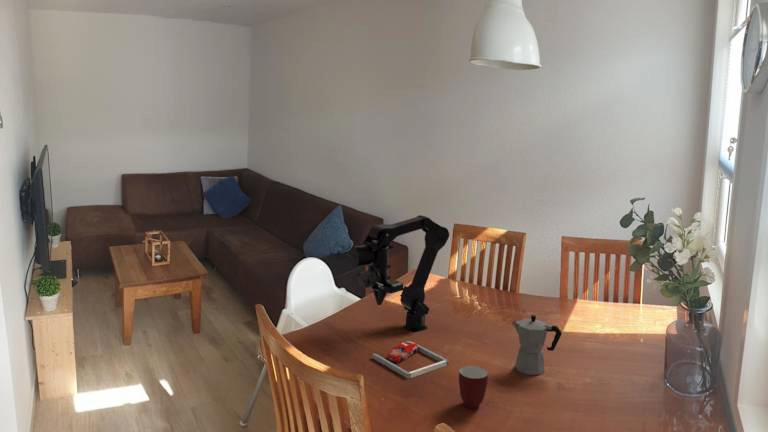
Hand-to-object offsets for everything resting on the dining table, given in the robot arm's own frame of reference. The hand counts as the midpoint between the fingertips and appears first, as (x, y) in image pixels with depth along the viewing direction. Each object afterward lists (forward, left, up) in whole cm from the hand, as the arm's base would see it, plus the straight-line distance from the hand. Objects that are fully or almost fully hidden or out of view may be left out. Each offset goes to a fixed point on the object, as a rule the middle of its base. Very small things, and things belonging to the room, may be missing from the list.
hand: (379, 304), depth 221 cm
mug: (+7, +53, -12) cm, 55 cm away
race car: (+3, +17, -12) cm, 21 cm away
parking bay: (+4, +22, -12) cm, 25 cm away
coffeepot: (-24, +49, -12) cm, 56 cm away
